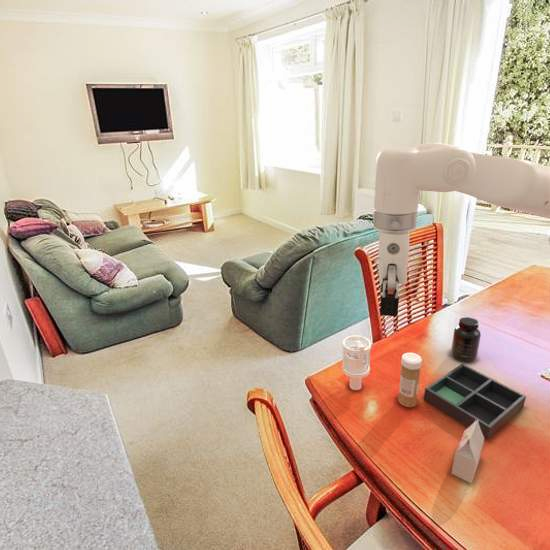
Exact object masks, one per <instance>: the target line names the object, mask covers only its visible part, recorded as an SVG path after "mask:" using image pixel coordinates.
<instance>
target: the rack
mask: <svg viewBox="0 0 550 550" xmlns="http://www.w3.org/2000/svg"><path fill="white" fill-rule="evenodd" d="M526 399H527V395H525V394H523V393H521V392H519V391H517V390H515V389H513V388H511V387H509V386H507V385H505V384H503V383H502V382H499V381H498V380H495V379H494V378H492V377H489V376H488V375H486V374H484V373H482V372H480V371H478V370H475V369H474V368H472V367H470V366H469V365H466V364H465V363H461V364H459V365H457V366H456V367H455V368H453V369H451V370H450V371H449V372H447V373H446V374H444V375H443V376H442V377H440V378H438V379H436V380H435V381H434V382H432V383H431V384H429V385H428V386H427V387H425V388H424V395H423V400H424V401H426V402H428V403H429V404H431V405H432V406H433V407H435V408H437V409H438V410H440V411H441V412H443V413H445V414H446V415H448V416H449V417H451V418H453V419H454V420H456V422H459V423H460V424H462V425H463V426H465V427H466V428H468V427H469V426H471V425H472V424H473V423H474V422H475V420H476V421H477V420H478V422H479V426H480V429H481V431H482V434H483V436H484V440H487V441H488V440H489V439H490V438H491V437H492V436H494V435H495V433H497V432H498V431H499V430H501V428H502V427H504V425H505V424H507V423H508V422H509V421H510V420H511V419H512V418H513V417H514V416H515V415H517V414H518V413H519V412H521V410H523V408H524V405H525V402H526Z"/></svg>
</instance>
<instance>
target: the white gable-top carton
mask: <svg viewBox="0 0 550 550" xmlns="http://www.w3.org/2000/svg"><path fill="white" fill-rule="evenodd" d="M484 442H485V438H484V436H483V434H482V431H481V429H480V426H479V422H478V420H477V421H476V420H475V422H474V423H473V424H472V425H471V426H469V427H466V428H465V429H464V431H463V433H462V436H461V438H460V439H459V442H458V445H457V447H456V450H455V451H454V456H453V457H454V458H453V463H452V468H451V475H453V476H455V477H457V478H459V479H461V480H463V481H465V482H467V483H469V484H472V482H473V480H474V477H475V475H476V471H477V469H478V466H479V462H480V460H481V456H482V452H483V451H482V450H483V446H484Z"/></svg>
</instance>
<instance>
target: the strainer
mask: <svg viewBox="0 0 550 550" xmlns="http://www.w3.org/2000/svg"><path fill="white" fill-rule="evenodd" d="M350 341H351V342H352V341H355V344H356V345H350V346H349V345H348V344H347V343H348V342H350ZM363 342H364V343H365V344H366V346H365V345H364V344H363ZM346 344H347V345H346ZM371 350H372V342H371V340H370V339H369V338H367V337H365V336H363V335H359V334H358V335H356V334H355V335H354V334H353V335H349V336H346V337H344V338H343V340H342V365H341V367H342V369H341V370H342V373H344V375H346V376H347V377H349V388H350V389H351V390H352V391H359V390H361V389H362V379H363V378H366V377H368V375H370V372H371Z"/></svg>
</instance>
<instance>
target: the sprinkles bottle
mask: <svg viewBox="0 0 550 550" xmlns="http://www.w3.org/2000/svg"><path fill="white" fill-rule="evenodd" d="M422 363H423V360H422V357H421V356H420V355H419V354H418V353H415V352H405V353H403V354H402V355H401V361H400V364H401V368H400V375H399V376H400V377H399V387H398V390H399V391H398V397H397V400H398V403H399V404H400V405H401V406H403V407H405V408H414V407H416V405H417V404H418V394H419V386H420V385H419V384H420V376H421V375H420V373H421V368H422V365H423V364H422Z"/></svg>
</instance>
